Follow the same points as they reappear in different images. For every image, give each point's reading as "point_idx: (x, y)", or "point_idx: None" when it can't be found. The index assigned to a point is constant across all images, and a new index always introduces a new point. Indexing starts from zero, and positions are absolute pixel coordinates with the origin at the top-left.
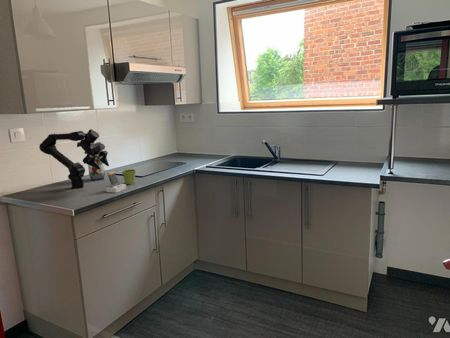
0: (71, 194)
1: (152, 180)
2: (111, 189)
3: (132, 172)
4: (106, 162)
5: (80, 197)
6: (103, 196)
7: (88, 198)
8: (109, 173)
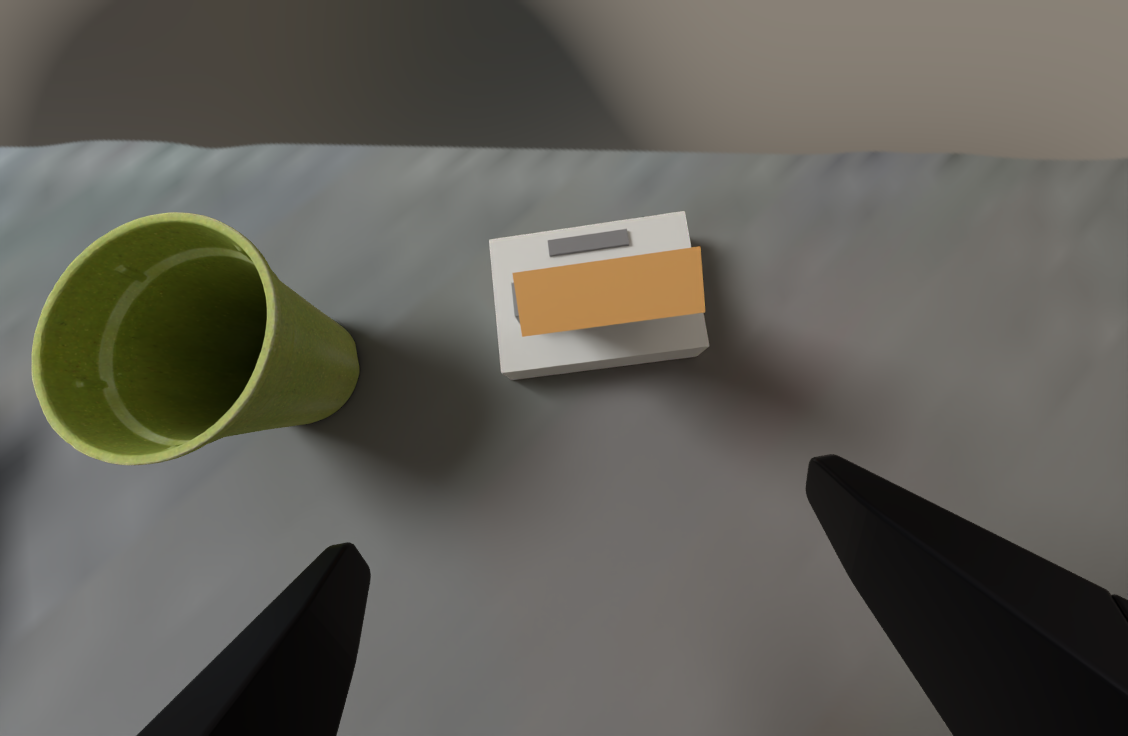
0: None
1: None
2: None
3: (216, 232)
4: (274, 687)
5: (1013, 467)
6: (850, 250)
7: (988, 343)
8: (689, 248)
